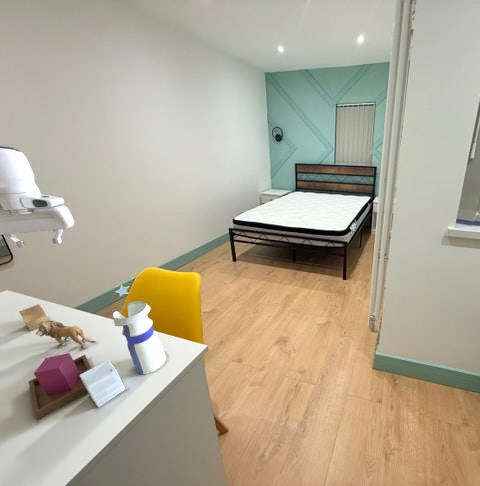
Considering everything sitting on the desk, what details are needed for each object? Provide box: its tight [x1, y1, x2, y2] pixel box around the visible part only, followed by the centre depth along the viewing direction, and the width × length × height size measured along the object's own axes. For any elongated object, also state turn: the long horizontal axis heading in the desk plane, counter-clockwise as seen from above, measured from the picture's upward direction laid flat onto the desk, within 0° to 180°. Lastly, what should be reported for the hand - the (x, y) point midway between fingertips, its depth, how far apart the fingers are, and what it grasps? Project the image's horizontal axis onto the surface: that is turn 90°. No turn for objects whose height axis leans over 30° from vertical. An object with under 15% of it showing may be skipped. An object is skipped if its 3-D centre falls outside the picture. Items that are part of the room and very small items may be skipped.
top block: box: [33, 352, 81, 395], centre depth 68 cm, size 5×5×8 cm
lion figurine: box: [35, 320, 96, 350], centre depth 82 cm, size 15×5×9 cm, turn 92°
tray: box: [28, 354, 93, 420], centre depth 69 cm, size 14×12×2 cm
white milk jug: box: [112, 284, 167, 375], centre depth 71 cm, size 8×9×25 cm
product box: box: [80, 359, 126, 408], centre depth 66 cm, size 6×6×7 cm
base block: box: [18, 304, 50, 331], centre depth 91 cm, size 5×5×6 cm
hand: (39, 244), depth 84 cm, fingers open, 8 cm apart
